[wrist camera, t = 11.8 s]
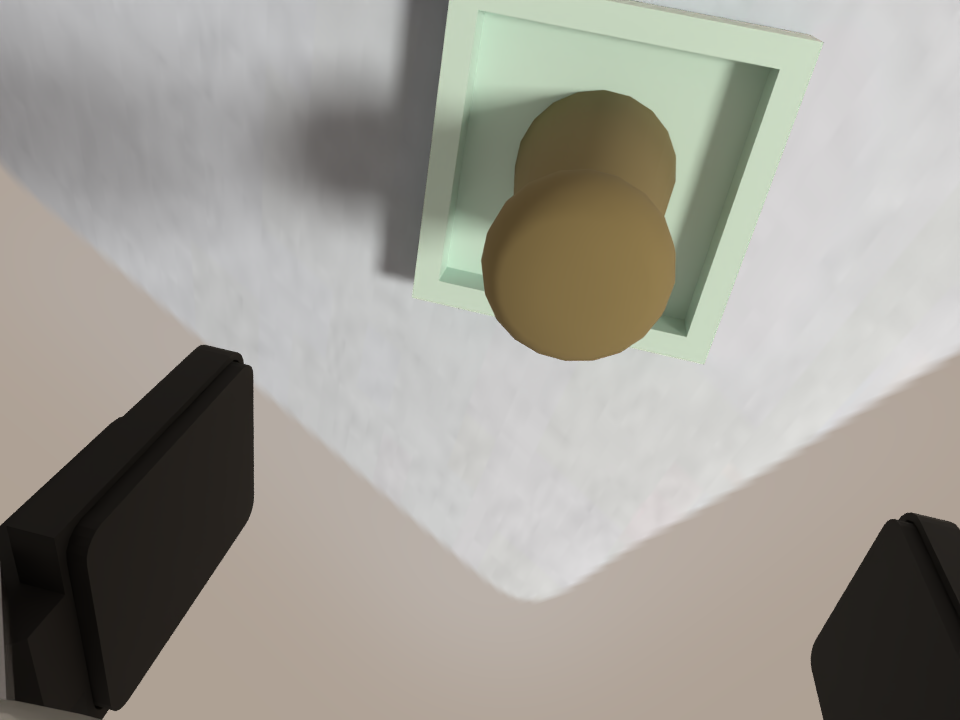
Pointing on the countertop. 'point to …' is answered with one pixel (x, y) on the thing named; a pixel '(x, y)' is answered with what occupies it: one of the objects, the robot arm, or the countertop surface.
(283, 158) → the countertop surface
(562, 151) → the cork
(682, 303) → the tray
